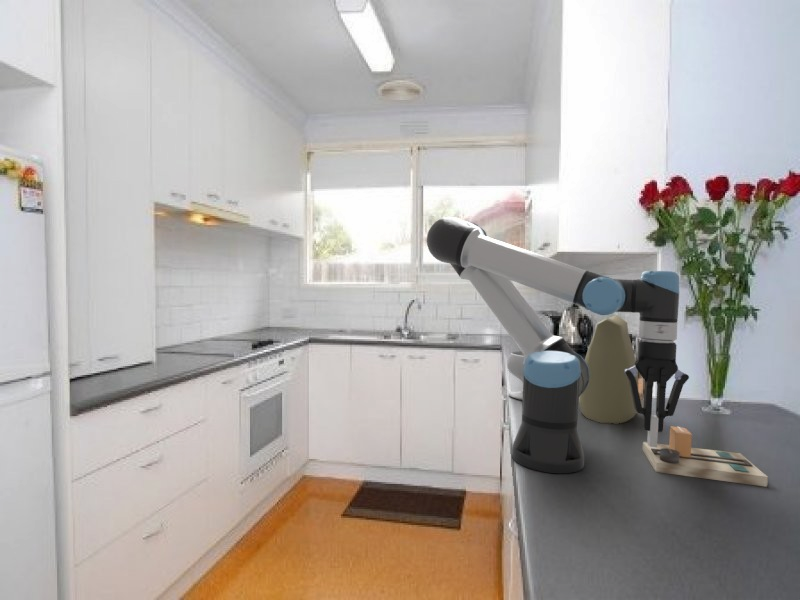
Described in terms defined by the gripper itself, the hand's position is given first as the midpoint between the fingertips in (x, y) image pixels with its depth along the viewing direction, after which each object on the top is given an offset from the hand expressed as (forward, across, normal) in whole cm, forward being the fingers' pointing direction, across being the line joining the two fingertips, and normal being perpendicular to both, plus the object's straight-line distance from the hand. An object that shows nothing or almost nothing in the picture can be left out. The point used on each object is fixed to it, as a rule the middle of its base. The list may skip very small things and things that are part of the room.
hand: (652, 445), depth 108 cm
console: (+4, +10, 0) cm, 10 cm away
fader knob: (+1, +6, 0) cm, 6 cm away
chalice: (+3, -29, +50) cm, 58 cm away
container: (+4, -5, +39) cm, 40 cm away
